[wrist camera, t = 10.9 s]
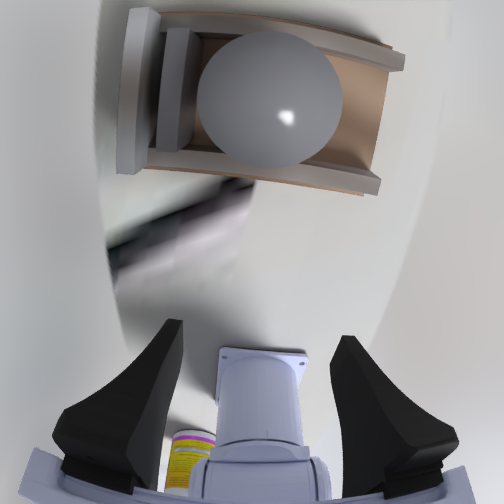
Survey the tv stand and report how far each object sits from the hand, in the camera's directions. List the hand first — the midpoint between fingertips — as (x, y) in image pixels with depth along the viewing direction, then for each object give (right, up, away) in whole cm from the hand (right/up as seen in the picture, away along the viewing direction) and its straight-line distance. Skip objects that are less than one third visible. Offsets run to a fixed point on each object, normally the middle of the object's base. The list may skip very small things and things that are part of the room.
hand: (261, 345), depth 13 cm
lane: (0, +13, +3) cm, 14 cm away
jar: (0, +13, +2) cm, 13 cm away
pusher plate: (-4, +13, +2) cm, 14 cm away
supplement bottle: (-8, -21, +23) cm, 32 cm away
